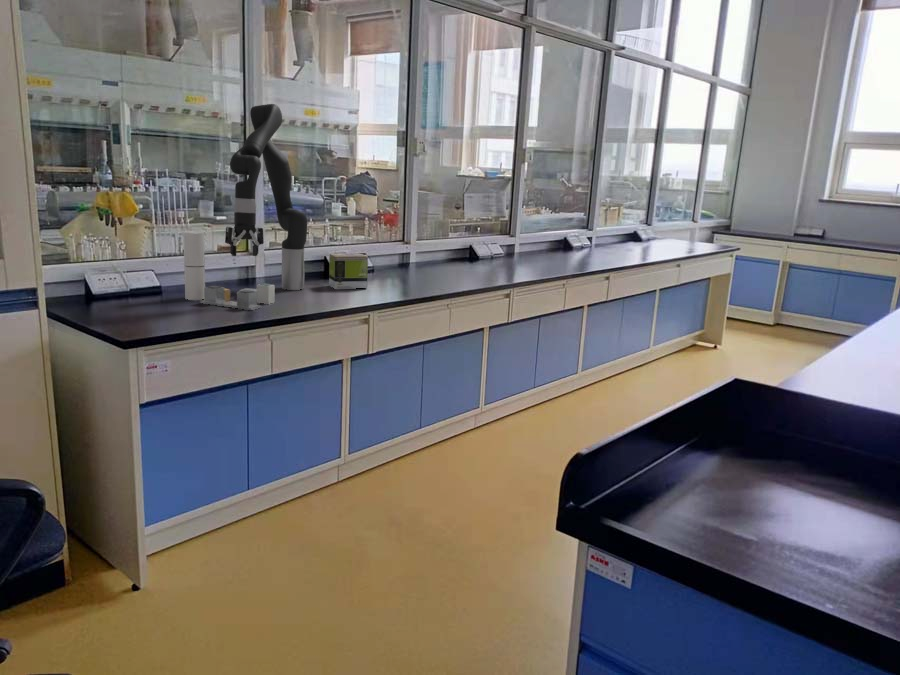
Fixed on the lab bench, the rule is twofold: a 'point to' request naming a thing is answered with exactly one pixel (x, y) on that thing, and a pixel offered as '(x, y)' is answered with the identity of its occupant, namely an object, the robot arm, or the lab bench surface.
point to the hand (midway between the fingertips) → (244, 255)
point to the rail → (217, 297)
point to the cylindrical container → (194, 265)
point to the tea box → (348, 271)
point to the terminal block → (227, 294)
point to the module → (265, 293)
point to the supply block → (249, 289)
